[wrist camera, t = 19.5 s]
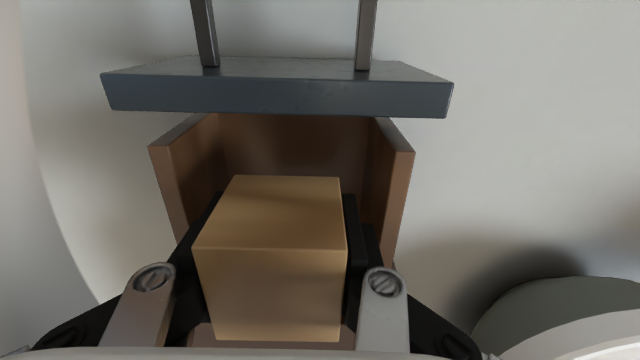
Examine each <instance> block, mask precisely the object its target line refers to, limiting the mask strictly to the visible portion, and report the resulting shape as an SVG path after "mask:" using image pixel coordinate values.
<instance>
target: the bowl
mask: <svg viewBox="0 0 640 360" xmlns="http://www.w3.org/2000/svg"><path fill="white" fill-rule="evenodd" d="M470 338H471V339H472V340H473V341H474V342H475V343H476V345H477V346H478V348H479V350H480V351H481V352H482V353H484V354H486V355H488V356H489V355H490V353H492V354H493V355H495V356H497V357H499V358H501V359H502V360H640V283H637V282H634V281H631V280H625V279H618V278H611V277H593V276H571V277H563V278H544V279H537V280H533V281H529V282H526V283H523V284H520V285H518V286H516V287H514V288H512V289H510V290H508V291H507V292H505V293H504V294H502V295H501V296H500V297H499V298H498V299H497V300H496V301H495V302H494V303H493V304H492V306H491V308H490V309H489V310H488V311H487V312H485V313H484V315H483V316H482V317H481V318H480V320H479V321H478V322H477V324H476V326H475V328H474V330H473V331H472V333H471V335H470Z"/></svg>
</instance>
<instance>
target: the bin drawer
mask: <svg viewBox="0 0 640 360" xmlns="http://www.w3.org/2000/svg"><path fill="white" fill-rule="evenodd" d="M190 4H191V9H192V15H193V21H194V26H195V32H196V38H197V44H198V49H199V55H200V56H192V55H189V56H184V57H179V58H174V59H169V60H164V61H159V62H154V63H149V64H144V65H139V66H134V67H129V68H124V69H119V70H114V71H109V72H104V73H101V74H100V79H101V81H102V84H103V87H104V90H105V93H106V96H107V99H108V101H109V104H110V107H111V109H112V110H115V111H155V112H196V113H195V114H194V115H192V116H191V117H189V118H188V119H186V120H185V121H183V122H182V123H180V124H179V125H177V126H176V127H174V128H173V129H171V130H170V131H168V132H167V133H165V134H164V135H162V136H161V137H159V138H158V139H156V140H155V141H153V142H152V143H150V144H149V145H148V146H147V148H148V151H149V154H150V157H151V161H152V164H153V167H154V170H155V174H156V177H157V180H158V183H159V187H160V190H161V193H162V197H163V200H164V203H165V206H166V210H167V213H168V216H169V219H170V223H171V226H172V229H173V232H174V236H175V239H176V242H177V245H178V244H179V243H180V241H181V240H182V238H183V237H184V235H185V234H186V232H187V231H188V229H189V228H190V226H191V224H192V223H193V222H194V221H195V220H196V219H199V218H200V216H201V215H202V213H203V212H204V210H205V209H206V207H207V205H208V204H209V202H210V201H211V199H212V198H213V196H214V195H215V193H216V192H217V191H225V190H226V188H227V187H228V185H229V183H230V182H231V180H232V178H233V177H234V175H272V176H315V177H338V178H339V182H340V191H341V197H342V193H343V194H355V197H356V202H357V207H358V212H359V217H360V222H361V223H372V224H373V226H374V229H375V233H376V237H377V240H378V244H379V248H380V251H381V255H382V259H383V263H384V266H385V267H387V268H391V266H392V262H393V257H394V252H395V247H396V243H397V238H398V233H399V229H400V224H401V219H402V215H403V210H404V205H405V201H406V196H407V191H408V187H409V182H410V177H411V173H412V168H413V163H414V159H415V154H416V152H415V150H414V149H413V148H412V147H411V145H410V144H409V143H408V141H407V140H406V139H405V138H404V136H403V135H402V134H401V132H400V131H399V130H398V129H397V127H396V126H395V125H394V123H393V122H392V121H391V120H390V118H389V117H397V118H437V119H443V118H446V115H447V111H448V107H449V104H450V100H451V96H452V92H453V88H454V83H453V82H450V81H448V80H445V79H443V78H440V77H438V76H435V75H433V74H430V73H428V72H425V71H423V70H420V69H418V68H415V67H413V66H410V65H408V64H405V63H403V62H401V61H376V60H371V56H372V46H373V37H374V28H375V18H376V9H377V0H359V4H358V16H357V29H356V42H355V54H354V60H339V59H302V58H265V57H229V56H219V50H218V43H217V36H216V29H215V22H214V15H213V8H212V1H211V0H190Z"/></svg>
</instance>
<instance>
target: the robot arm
mask: <svg viewBox="0 0 640 360" xmlns="http://www.w3.org/2000/svg"><path fill="white" fill-rule="evenodd" d="M224 192H225V191H217V192H216V193H215V195H214V196H213V198H212V199H211V201H210V202H209V204H208V205H207V207H206V209H205V210H204V212H203V213H202V215H201V216H200V218H199V219H196V220H195V221H194V222H193V223H192V224H191V226H190V228H189V229H188V231H187V232H186V234H185V235H184V237H183V238H182V240H181V241H180V243H179V244H178V246H177V247H176V249H175V250H174V252H173V253H172V255H171V256H170V258H169V259H168V261H167V262H157V263H153V264H150V265H147V266H145V267H143V268H142V269H140V270H138V271H137V272H136V273H135V274H134V275H133V276H132V277H131V278H130V280H129V281H128V283H127V285H126V288H125V290H124V292H123V293H122V294H120V295H118V296H117V297H115V298H113V299H111V300H109V301H107V302H105V303H103V304H101V305H99V306H97V307H95V308H93V309H91V310H89V311H87V312H85V313H83V314H81V315H79V316H77V317H75V318H73V319H71V320H69V321H67V322H65V323H63V324H61V325H59V326H57V327H56V328H54V329H52V330H51V331H49V332H48V333H47V334H45V335H44V336H43V337H42V338H41V339H40V340H39V341H38V342H37V343H36V344H35V345H34V347H32V348H30V346H29V345H27V346H24V347H22V348H20V349H17V350H15V351H12V352H10V353H8V354H6V355H3V356H1V357H0V360H502V359H501V358H499V357H497V356H495V355H493V354H492V353H490V355H489V356H488V355H486V354H484V353H482V352H481V351H480V350H479V348H478V346H477V345H476V343H475V342H474V341H473V340H472V339H471V338H470V337H469V336H468V335H467V334H466V333H464V332H463V331H461V330H460V329H458V328H457V327H455V326H454V325H453V324H451V323H450V322H448V321H447V320H445V319H444V318H442V317H441V316H439V315H438V314H436V313H435V312H434V311H432V310H431V309H429V308H428V307H426V306H425V305H423V304H422V303H420V302H419V301H417V300H416V299H415V298H413V297H412V296H410V295H409V294H407V287H406V283H405V280H404V279H403V277H402V276H401V275H400V274H399V273H398V272H396V271H395V270H393V269H391V268H387V267H385V266H384V263H383V259H382V255H381V251H380V248H379V244H378V240H377V237H376V233H375V229H374V226H373V224H372V223H361V222H360V217H359V212H358V207H357V202H356V197H355V194H343V193H342V197H341V199H342V207H343V215H344V223H345V232H346V240H347V248H348V255H347V265H346V275H345V285H344V295H343V305H342V315H341V316H343V317H344V326H347V327H348V328H349V329H350V330H351V331H352V332H353V333H355V339H354V346H353V351H349V350H306V349H257V348H199V347H192V344H193V338H194V332H195V327H196V326H198V325H199V324H200V323H211V319H210V316H209V312H208V308H207V305H206V301H205V297H204V294H203V290H202V286H201V283H200V279H199V275H198V272H197V268H196V265H195V261H194V257H193V254H192V250H191V247H192V245H193V244H194V242H195V240H196V239H197V237H198V235H199V233H200V232H201V230H202V228H203V227H204V225H205V223H206V222H207V220H208V218H209V217H210V215H211V213H212V212H213V210H214V208H215V207H216V205H217V203H218V202H219V200H220V198H221V197H222V195H223V193H224Z"/></svg>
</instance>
